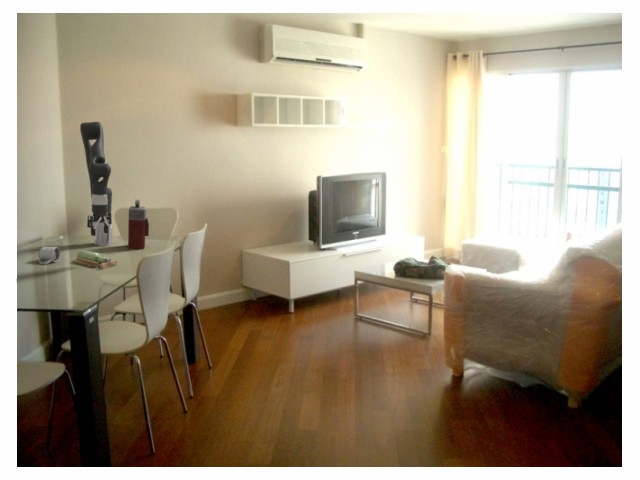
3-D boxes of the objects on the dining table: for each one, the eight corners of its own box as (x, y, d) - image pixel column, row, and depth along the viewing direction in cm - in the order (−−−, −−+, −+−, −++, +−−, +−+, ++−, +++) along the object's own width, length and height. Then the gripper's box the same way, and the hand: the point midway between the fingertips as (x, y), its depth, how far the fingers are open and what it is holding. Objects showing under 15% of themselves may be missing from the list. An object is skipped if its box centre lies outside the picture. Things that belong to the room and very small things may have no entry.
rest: (90, 259, 318) (90, 254, 318) (117, 265, 311) (117, 260, 311) (75, 262, 309) (75, 258, 309) (102, 269, 302) (102, 264, 302)
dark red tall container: (148, 249, 348) (149, 201, 342) (128, 248, 346) (128, 200, 340) (149, 245, 357) (150, 198, 351) (129, 244, 354) (130, 197, 348)
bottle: (86, 250, 317) (112, 256, 310) (84, 260, 317) (110, 266, 310) (78, 249, 312) (104, 255, 305) (76, 260, 312) (102, 266, 305)
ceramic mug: (44, 258, 312) (44, 244, 310) (60, 260, 312) (60, 245, 310) (34, 264, 302) (34, 249, 300) (50, 265, 302) (50, 250, 300)
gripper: (104, 200, 311) (104, 231, 314) (83, 203, 298) (83, 235, 301) (115, 202, 308) (115, 233, 311) (94, 205, 295) (94, 237, 299)
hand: (99, 234), depth 306 cm, fingers open, 8 cm apart
